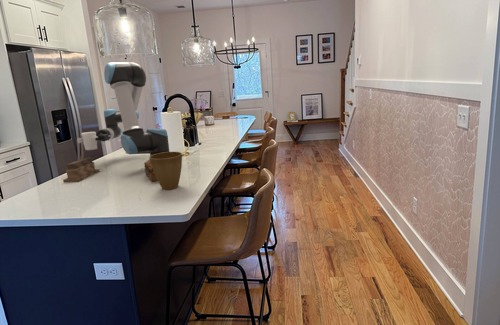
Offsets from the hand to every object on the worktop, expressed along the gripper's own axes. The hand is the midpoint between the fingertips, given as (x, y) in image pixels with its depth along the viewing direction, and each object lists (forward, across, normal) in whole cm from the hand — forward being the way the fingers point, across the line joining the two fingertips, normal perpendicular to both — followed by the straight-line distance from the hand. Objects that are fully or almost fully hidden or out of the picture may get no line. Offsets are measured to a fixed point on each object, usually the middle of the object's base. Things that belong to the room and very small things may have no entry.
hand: (84, 140), depth 193 cm
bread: (+13, -46, -20) cm, 52 cm away
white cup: (-5, 0, -6) cm, 8 cm away
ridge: (+6, +1, -20) cm, 21 cm away
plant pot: (+33, -60, -20) cm, 72 cm away
